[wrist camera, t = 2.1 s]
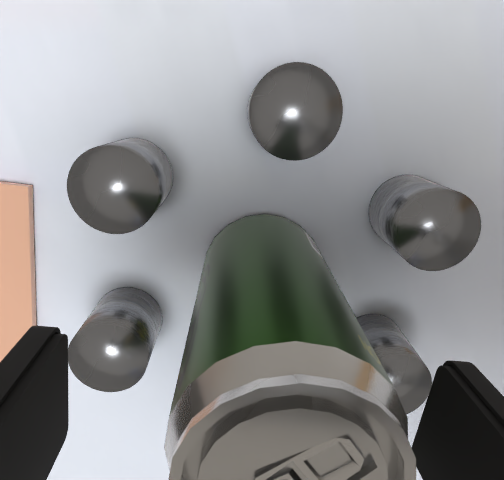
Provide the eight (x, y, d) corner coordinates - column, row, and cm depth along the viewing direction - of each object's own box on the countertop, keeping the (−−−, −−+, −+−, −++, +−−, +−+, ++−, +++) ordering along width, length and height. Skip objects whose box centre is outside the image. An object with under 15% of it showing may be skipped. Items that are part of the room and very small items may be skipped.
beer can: (278, 186, 18) (342, 318, 7) (339, 278, 20) (473, 511, 8) (181, 251, 19) (96, 464, 8) (246, 334, 21) (255, 617, 9)
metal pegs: (469, 97, 17) (524, 95, 14) (377, 426, 23) (401, 480, 19) (101, 43, 16) (66, 26, 13) (94, 400, 22) (67, 454, 18)
